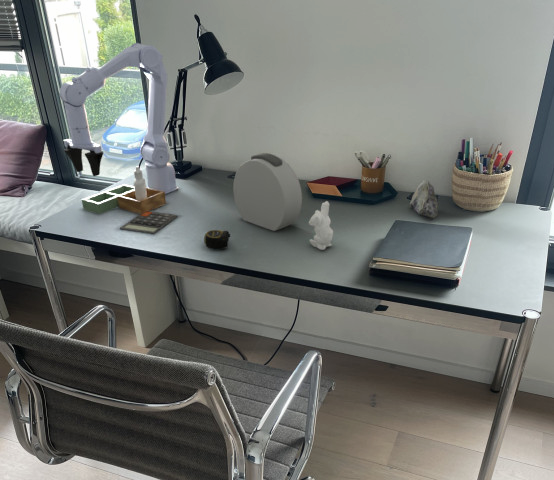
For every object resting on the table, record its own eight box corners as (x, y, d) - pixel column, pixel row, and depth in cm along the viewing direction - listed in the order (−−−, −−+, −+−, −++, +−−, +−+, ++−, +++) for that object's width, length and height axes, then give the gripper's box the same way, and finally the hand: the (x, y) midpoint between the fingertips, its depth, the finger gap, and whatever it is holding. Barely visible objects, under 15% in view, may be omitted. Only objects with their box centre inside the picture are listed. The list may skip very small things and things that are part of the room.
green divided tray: (125, 193, 192) (124, 184, 190) (142, 197, 189) (140, 188, 187) (83, 209, 180) (81, 199, 178) (100, 214, 176) (98, 204, 174)
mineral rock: (433, 224, 169) (438, 191, 163) (398, 217, 173) (403, 185, 168) (445, 210, 178) (450, 178, 172) (412, 205, 183) (416, 173, 177)
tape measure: (227, 251, 153) (227, 238, 151) (203, 251, 153) (201, 238, 151) (230, 241, 159) (230, 229, 157) (206, 241, 159) (205, 228, 157)
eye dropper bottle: (153, 202, 183) (148, 165, 176) (142, 208, 179) (136, 170, 172) (142, 200, 185) (137, 163, 178) (131, 206, 181) (125, 168, 174)
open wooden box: (144, 198, 188) (142, 186, 186) (166, 203, 184) (164, 191, 181) (119, 208, 181) (117, 195, 178) (141, 214, 176) (139, 201, 174)
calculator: (178, 214, 174) (153, 232, 163) (178, 217, 175) (154, 235, 164) (145, 210, 178) (119, 227, 166) (145, 213, 178) (119, 230, 167)
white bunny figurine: (316, 239, 160) (317, 197, 153) (338, 243, 158) (341, 201, 151) (304, 250, 154) (305, 207, 147) (327, 254, 151) (329, 211, 144)
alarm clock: (301, 227, 167) (303, 159, 155) (284, 234, 163) (285, 164, 151) (251, 210, 179) (249, 145, 167) (234, 216, 174) (231, 150, 163)
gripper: (52, 126, 169) (62, 172, 177) (85, 133, 162) (94, 180, 170) (70, 122, 174) (80, 167, 182) (103, 128, 167) (111, 174, 175)
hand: (88, 173), depth 176 cm, fingers open, 7 cm apart
